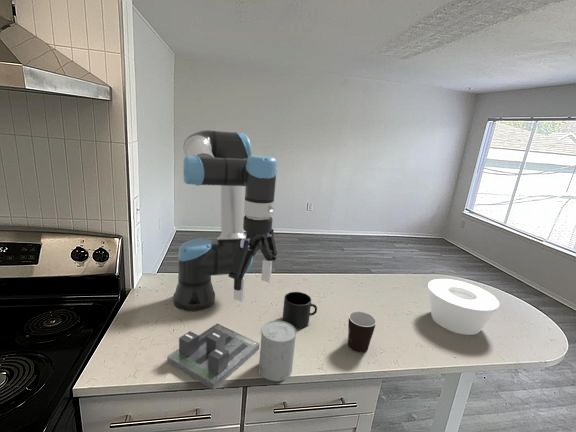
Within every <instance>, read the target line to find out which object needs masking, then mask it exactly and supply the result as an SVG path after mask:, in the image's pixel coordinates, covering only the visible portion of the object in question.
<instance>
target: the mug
mask: <svg viewBox="0 0 576 432" xmlns="http://www.w3.org/2000/svg"><path fill="white" fill-rule="evenodd" d="M283 300H284V301H283V309H282V310H283V311H282V318H281V319H282V320H281V321H284V322H287V323H289V324H291V325H293V326H294V327H295V329H304V328H306V327H307V326H308V324H309V322H310V317H312V316H314V315H316V313H317V312H318V307H317V305H316V304H315V303H312V298H311V296H310V295H309V294H307V293H305V292H300V291H291V292H288V293H286V294H285V295H284V299H283ZM311 307H313V308H314V310H313V312H311Z"/></svg>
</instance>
